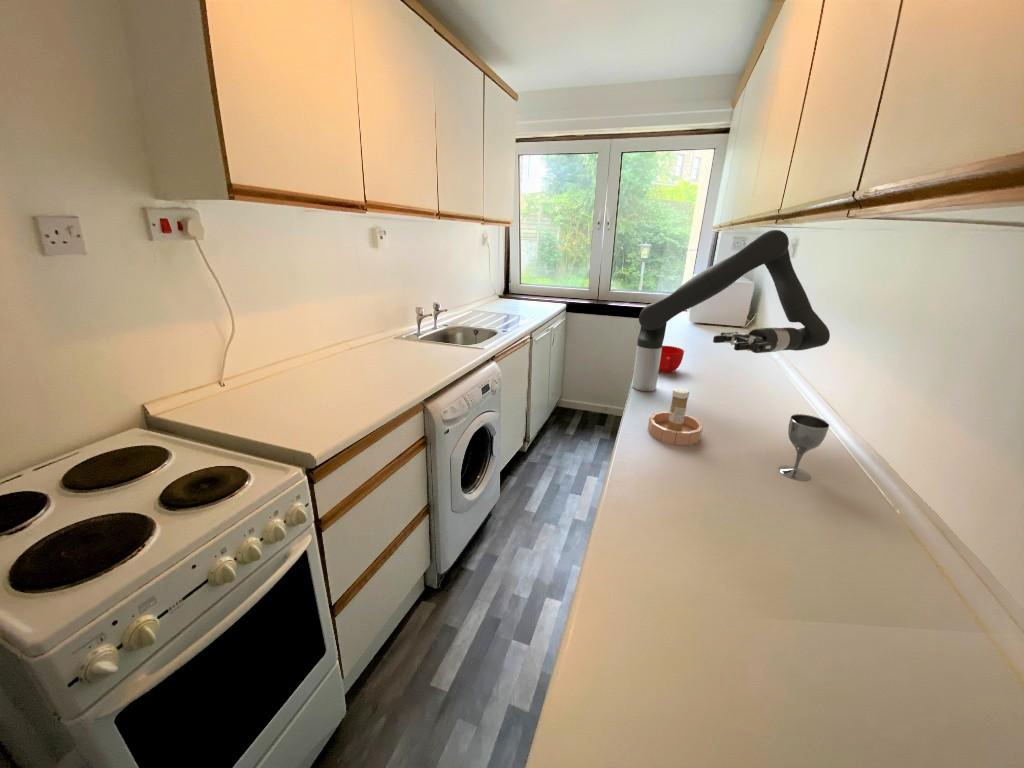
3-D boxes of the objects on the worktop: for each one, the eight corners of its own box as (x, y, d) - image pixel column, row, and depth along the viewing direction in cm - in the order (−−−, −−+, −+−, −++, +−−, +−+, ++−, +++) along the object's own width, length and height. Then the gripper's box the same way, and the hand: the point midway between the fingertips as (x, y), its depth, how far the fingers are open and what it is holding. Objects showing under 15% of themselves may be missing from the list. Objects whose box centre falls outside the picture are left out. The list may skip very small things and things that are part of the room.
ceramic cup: (649, 376, 178) (652, 354, 175) (650, 365, 194) (653, 344, 190) (681, 380, 175) (685, 357, 171) (679, 368, 190) (683, 347, 186)
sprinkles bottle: (666, 426, 131) (672, 386, 126) (681, 428, 129) (688, 388, 125) (667, 432, 126) (673, 391, 122) (682, 434, 125) (690, 393, 121)
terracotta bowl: (643, 422, 136) (645, 410, 134) (690, 423, 135) (692, 412, 133) (655, 444, 122) (657, 431, 120) (707, 446, 121) (710, 434, 119)
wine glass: (795, 483, 103) (811, 429, 98) (769, 467, 111) (783, 415, 105) (820, 479, 105) (837, 426, 100) (793, 463, 113) (807, 412, 107)
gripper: (752, 323, 132) (709, 325, 128) (791, 333, 119) (746, 336, 115) (747, 345, 135) (705, 348, 130) (785, 358, 122) (740, 362, 118)
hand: (724, 342), depth 123 cm, fingers open, 8 cm apart
